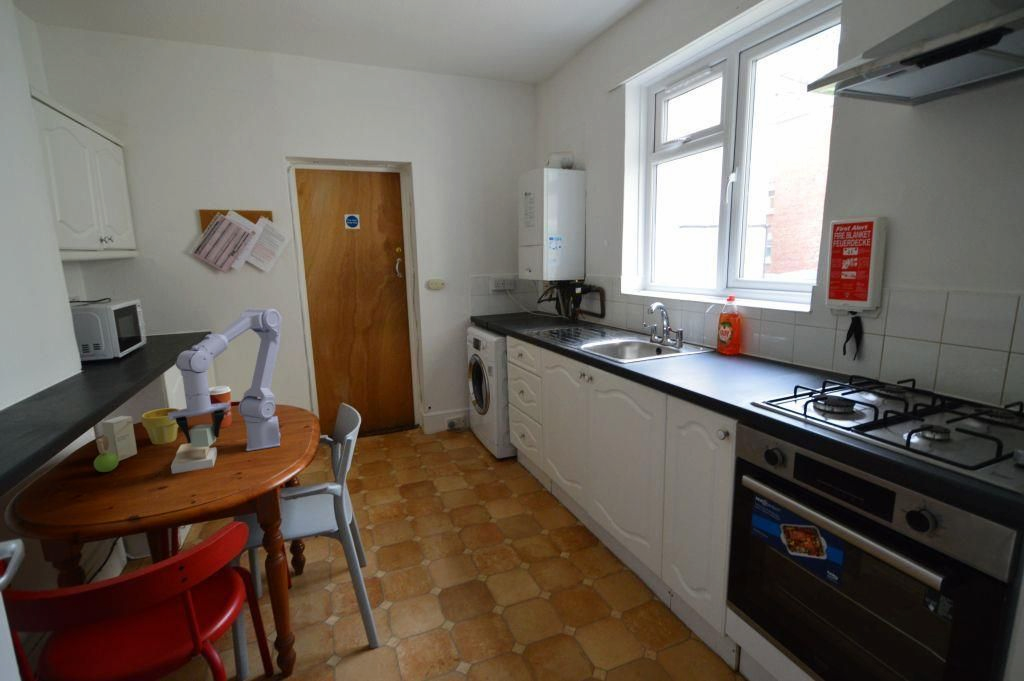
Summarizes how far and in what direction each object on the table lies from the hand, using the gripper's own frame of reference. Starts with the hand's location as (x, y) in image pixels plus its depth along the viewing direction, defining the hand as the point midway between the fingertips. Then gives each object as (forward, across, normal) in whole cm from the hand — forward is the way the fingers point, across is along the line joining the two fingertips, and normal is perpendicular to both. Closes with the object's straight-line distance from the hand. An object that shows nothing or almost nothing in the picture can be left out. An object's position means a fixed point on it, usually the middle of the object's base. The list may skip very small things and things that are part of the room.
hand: (203, 439), depth 139 cm
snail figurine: (+9, +23, -16) cm, 29 cm away
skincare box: (+9, +19, -26) cm, 34 cm away
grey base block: (+10, +2, -6) cm, 12 cm away
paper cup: (+9, -9, -38) cm, 40 cm away
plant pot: (+9, +8, -34) cm, 36 cm away
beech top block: (+6, +2, -6) cm, 9 cm away
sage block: (+1, 0, 0) cm, 1 cm away
